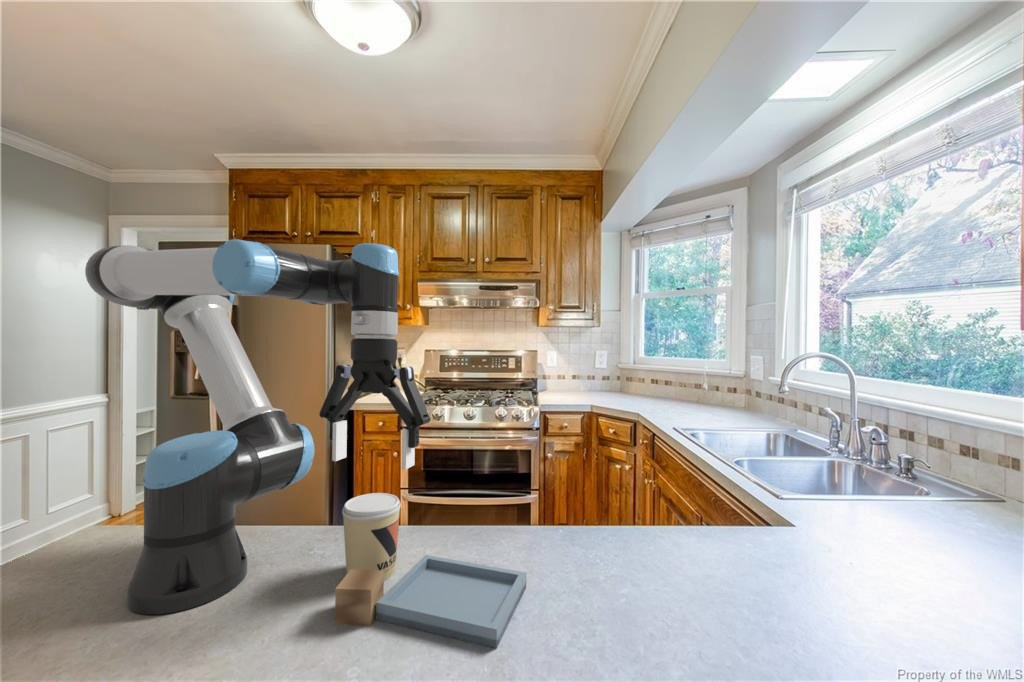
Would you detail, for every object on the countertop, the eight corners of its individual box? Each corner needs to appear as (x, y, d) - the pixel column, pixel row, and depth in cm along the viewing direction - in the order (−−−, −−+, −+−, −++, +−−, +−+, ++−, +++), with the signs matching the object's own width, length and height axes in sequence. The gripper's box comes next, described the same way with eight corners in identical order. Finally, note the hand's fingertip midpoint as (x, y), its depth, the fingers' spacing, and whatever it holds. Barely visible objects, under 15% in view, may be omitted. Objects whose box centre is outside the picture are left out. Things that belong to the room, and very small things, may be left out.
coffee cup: (383, 592, 66) (383, 515, 66) (329, 585, 67) (330, 510, 68) (409, 562, 75) (409, 494, 75) (361, 556, 77) (362, 490, 77)
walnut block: (335, 625, 58) (335, 588, 58) (350, 602, 63) (350, 569, 63) (370, 626, 58) (371, 589, 58) (383, 603, 63) (383, 570, 63)
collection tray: (375, 619, 59) (376, 602, 59) (425, 568, 72) (425, 554, 72) (496, 648, 54) (496, 629, 54) (526, 587, 67) (526, 572, 67)
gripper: (298, 336, 71) (296, 461, 71) (429, 337, 64) (427, 477, 64) (329, 337, 79) (328, 450, 79) (451, 338, 71) (449, 464, 71)
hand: (372, 463), depth 71 cm, fingers open, 13 cm apart
